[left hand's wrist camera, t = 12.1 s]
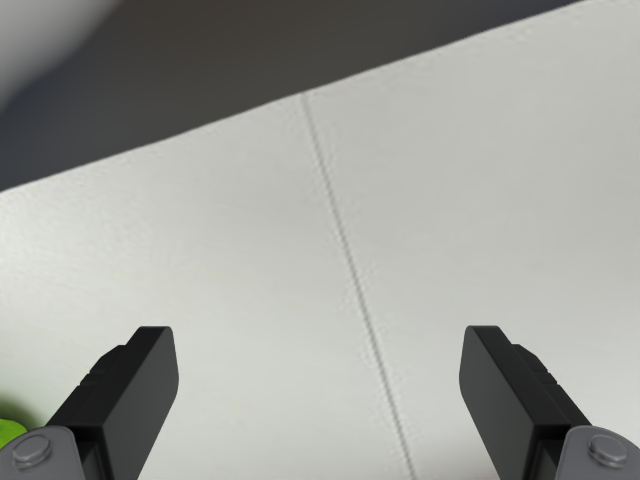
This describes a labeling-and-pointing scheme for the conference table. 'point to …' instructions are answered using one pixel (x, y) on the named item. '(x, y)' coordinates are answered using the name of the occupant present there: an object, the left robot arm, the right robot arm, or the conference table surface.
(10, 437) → the decorative tree
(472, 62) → the conference table surface
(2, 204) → the conference table surface
